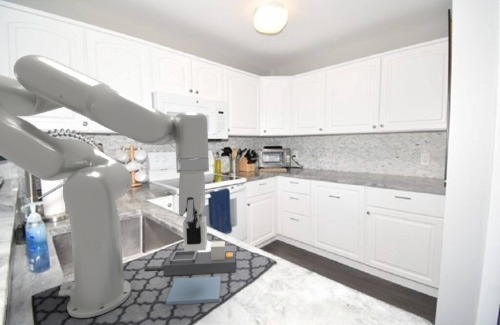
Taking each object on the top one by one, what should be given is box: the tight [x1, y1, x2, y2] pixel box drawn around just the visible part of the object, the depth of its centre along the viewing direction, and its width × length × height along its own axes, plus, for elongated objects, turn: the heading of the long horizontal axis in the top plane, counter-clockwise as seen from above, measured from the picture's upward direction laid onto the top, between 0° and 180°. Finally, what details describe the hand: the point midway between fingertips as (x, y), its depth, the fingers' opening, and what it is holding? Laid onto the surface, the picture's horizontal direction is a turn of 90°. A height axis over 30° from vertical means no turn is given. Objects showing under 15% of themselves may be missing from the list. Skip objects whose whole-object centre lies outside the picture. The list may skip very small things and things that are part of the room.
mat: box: [165, 275, 222, 306], centre depth 57 cm, size 12×9×1 cm
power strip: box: [144, 240, 236, 277], centre depth 67 cm, size 26×7×7 cm, turn 95°
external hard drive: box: [182, 239, 213, 252], centre depth 81 cm, size 2×8×12 cm
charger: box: [182, 215, 208, 251], centre depth 56 cm, size 5×4×8 cm
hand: (195, 238), depth 56 cm, fingers closed on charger, 4 cm apart
